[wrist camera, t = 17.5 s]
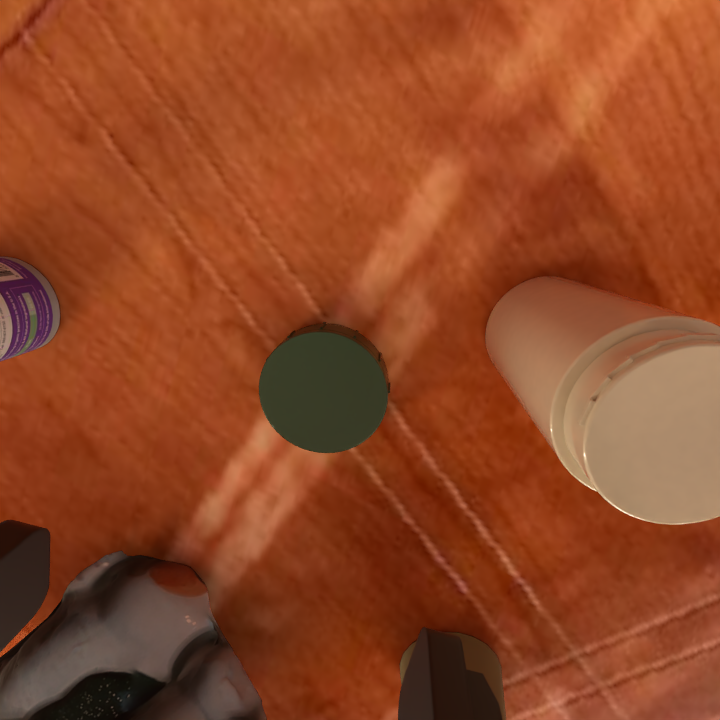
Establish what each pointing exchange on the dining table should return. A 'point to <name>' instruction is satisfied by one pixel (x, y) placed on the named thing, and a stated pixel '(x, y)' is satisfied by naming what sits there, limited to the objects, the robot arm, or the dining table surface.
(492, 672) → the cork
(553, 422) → the jar
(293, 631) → the dining table surface
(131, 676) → the lucky cat figurine
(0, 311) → the container
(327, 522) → the dining table surface
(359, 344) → the lid
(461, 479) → the dining table surface
